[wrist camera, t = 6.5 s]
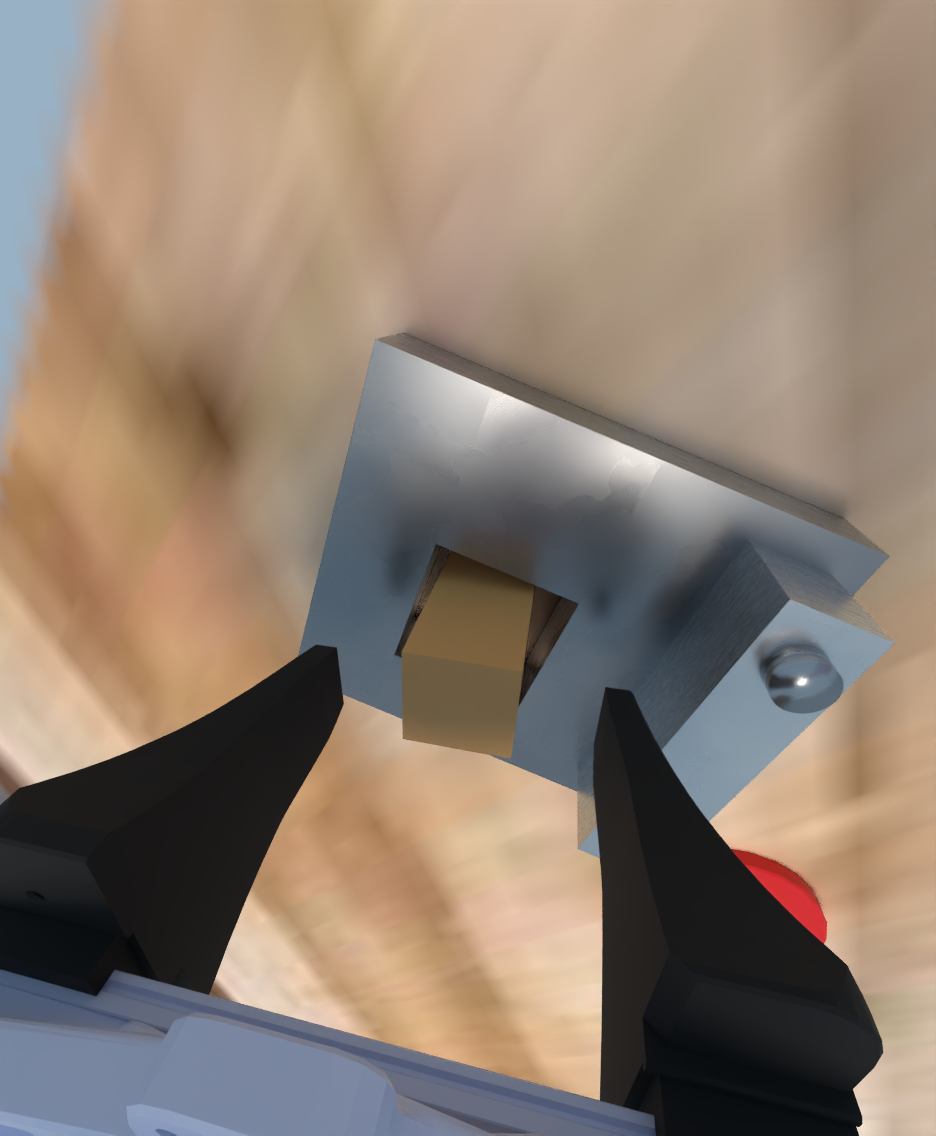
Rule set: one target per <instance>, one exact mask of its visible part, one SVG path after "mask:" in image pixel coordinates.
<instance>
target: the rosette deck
mask: <svg viewBox="0 0 936 1136" xmlns="http://www.w3.org/2000/svg"><path fill="white" fill-rule="evenodd" d="M440 546H442V547H445V548H447V549H449V550H452V551H454V552H457V553H459V554H461V555H464V556H466V557H468V558H471V559H473V560H476V561H478V562H480V563H483V564H485V565H488V566H490V567H492V568H495V569H497V570H500V571H502V572H504V573H507V574H509V575H511V576H514V577H516V578H519V579H521V580H523V581H526V582H528V583H531V584H533V585H535V586H538V587H540V588H543V589H545V590H547V591H550V592H552V593H554V594H557V595H559V596H562V598H561V599H560V601H559V603H558V605H557V607H556V608H555V610H554V612H553V614H552V616H551V617H550V619H549V621H548V623H547V624H546V626H545V628H544V630H543V632H542V633H541V635H540V637H539V639H538V641H537V642H536V644H535V646H534V648H533V649H532V651H531V653H530V655H529V657H528V658H527V660H526V662H525V663H524V670H523V677H522V684H521V691H520V698H519V706H518V713H517V720H516V727H515V734H514V741H513V748H512V756H511V759H510V758H504V757H499V756H493V755H491V756H493V757H496V758H498V759H500V760H503V761H505V762H508V763H510V764H512V765H515V766H517V767H520V768H522V769H524V770H527V771H529V772H532V773H534V774H537V775H539V776H541V777H544V778H546V779H549V780H551V781H553V782H556V783H558V784H561V785H563V786H565V787H568V788H570V789H573V790H575V791H578V849H579V850H582V851H584V852H587V853H589V854H591V855H594V856H596V857H599V858H600V853H599V843H598V833H597V822H596V812H595V801H594V790H593V751H594V741H595V736H596V731H597V726H598V721H599V716H600V711H601V706H602V701H603V696H604V691H605V687H609V688H616V689H623V690H630V691H631V692H632V693H633V694H634V696H635V699H636V701H637V703H638V706H639V708H640V710H641V712H642V714H643V716H644V718H645V720H646V722H647V724H648V726H649V728H650V730H651V732H652V734H653V736H654V738H655V739H656V741H657V743H658V745H659V746H660V748H661V750H662V752H663V753H664V755H665V757H666V759H667V760H668V762H669V764H670V765H671V767H672V769H673V770H674V772H675V773H676V775H677V777H678V778H679V780H680V781H681V783H682V784H683V786H684V787H685V789H686V790H687V792H688V793H689V795H690V796H691V798H692V799H693V801H694V802H695V803H696V805H697V806H698V808H699V809H700V810H701V812H702V813H703V815H704V816H705V817H706V818H707V820H708V821H710V820H711V819H712V818H713V817H714V816H715V815H716V814H717V813H718V812H719V811H720V810H721V809H722V808H723V807H725V806H726V805H727V804H728V803H729V802H730V801H731V800H732V799H733V798H734V797H735V796H736V795H737V794H738V793H739V792H740V791H741V790H742V789H743V788H744V787H745V786H746V785H747V784H749V783H750V782H751V781H752V780H753V779H754V778H755V777H756V776H757V775H758V774H759V773H760V772H761V771H762V770H763V769H764V768H765V767H766V766H767V765H768V764H769V763H770V762H771V761H772V760H774V759H775V758H776V757H777V756H778V755H779V754H780V753H781V752H782V751H783V750H784V749H785V748H786V747H787V746H788V745H789V744H790V743H791V742H792V741H793V740H794V739H795V738H796V737H797V736H799V735H800V734H801V733H802V732H803V731H804V730H805V729H806V728H807V727H808V726H809V725H810V724H811V723H812V722H813V721H814V720H815V719H816V718H817V717H818V716H819V715H820V714H821V713H823V712H824V711H825V710H826V709H827V708H828V707H829V706H830V705H832V704H833V703H834V702H836V701H837V699H838V698H839V697H840V696H841V694H842V693H843V692H844V691H845V690H846V689H848V688H849V687H850V686H851V685H852V684H853V683H854V682H855V681H856V680H857V679H858V678H859V677H860V676H861V675H862V674H863V673H864V672H865V671H866V670H867V669H868V668H869V667H870V666H871V665H873V664H874V663H875V662H876V661H877V660H878V659H879V658H880V657H881V656H882V655H883V654H884V653H885V652H886V651H887V650H888V649H889V648H890V647H891V646H892V645H893V644H894V642H893V641H892V640H891V638H890V637H889V636H888V635H887V634H886V633H885V632H884V631H883V630H882V629H881V628H880V626H879V625H878V624H877V623H876V622H875V621H874V620H873V619H872V618H871V617H870V616H869V614H868V613H867V612H866V611H865V610H864V609H863V608H862V607H861V606H860V605H859V604H858V602H857V601H856V600H855V599H854V598H853V597H852V596H853V595H854V594H855V593H856V592H857V591H858V590H859V589H860V587H861V586H862V585H863V584H864V583H865V582H866V581H867V580H868V579H869V578H870V577H871V576H872V575H873V573H874V572H875V571H876V570H877V569H878V568H879V567H880V566H881V565H882V564H883V563H884V562H885V561H886V559H887V558H888V557H889V555H887V554H886V553H885V552H884V551H883V550H881V549H880V548H879V547H878V546H877V545H875V544H874V543H873V542H872V541H871V540H869V539H868V538H867V537H866V536H865V535H863V534H862V533H861V532H860V531H859V530H857V529H856V528H855V527H854V526H853V525H851V524H850V523H849V522H848V521H847V520H845V519H843V518H840V517H838V516H836V515H833V514H831V513H828V512H826V511H824V510H821V509H819V508H817V507H814V506H812V505H810V504H807V503H805V502H802V501H800V500H798V499H795V498H793V497H791V496H788V495H786V494H784V493H781V492H779V491H776V490H774V489H772V488H769V487H767V486H765V485H762V484H760V483H757V482H755V481H753V480H750V479H748V478H746V477H743V476H741V475H739V474H736V473H734V472H731V471H729V470H727V469H724V468H722V467H720V466H717V465H715V464H712V463H710V462H708V461H705V460H703V459H701V458H698V457H696V456H694V455H691V454H689V453H686V452H684V451H682V450H679V449H677V448H675V447H672V446H670V445H668V444H665V443H663V442H660V441H658V440H656V439H653V438H651V437H649V436H646V435H644V434H641V433H639V432H637V431H634V430H632V429H630V428H627V427H625V426H623V425H620V424H618V423H615V422H613V421H611V420H608V419H606V418H604V417H601V416H599V415H596V414H594V413H592V412H589V411H587V410H585V409H582V408H580V407H578V406H575V405H573V404H570V403H568V402H566V401H563V400H561V399H559V398H556V397H554V396H552V395H549V394H547V393H544V392H542V391H540V390H537V389H535V388H533V387H530V386H528V385H525V384H523V383H521V382H518V381H516V380H514V379H511V378H509V377H507V376H504V375H502V374H499V373H497V372H495V371H492V370H490V369H488V368H485V367H483V366H480V365H478V364H476V363H473V362H471V361H469V360H466V359H464V358H462V357H459V356H457V355H454V354H452V353H450V352H447V351H445V350H443V349H440V348H438V347H435V346H433V345H431V344H428V343H426V342H424V341H421V340H419V339H417V338H414V337H412V336H409V335H407V334H405V333H402V334H397V335H392V336H388V337H383V338H379V339H375V343H374V347H373V351H372V355H371V359H370V363H369V367H368V371H367V376H366V380H365V384H364V388H363V392H362V396H361V400H360V404H359V408H358V413H357V417H356V421H355V425H354V429H353V433H352V437H351V441H350V445H349V450H348V454H347V458H346V462H345V466H344V470H343V474H342V478H341V482H340V487H339V491H338V495H337V499H336V503H335V507H334V511H333V515H332V519H331V524H330V528H329V532H328V536H327V540H326V544H325V548H324V552H323V556H322V561H321V565H320V569H319V573H318V577H317V581H316V585H315V589H314V593H313V598H312V602H311V606H310V610H309V614H308V618H307V622H306V626H305V630H304V635H303V639H302V643H301V647H300V651H299V655H298V656H300V655H301V654H302V653H304V652H305V651H307V650H308V649H310V648H312V647H313V646H315V645H316V644H317V645H324V646H330V647H337V652H338V660H339V668H340V677H341V685H342V693H343V694H344V695H346V696H348V697H351V698H353V699H356V700H358V701H360V702H363V703H365V704H368V705H370V706H373V707H375V708H377V709H380V710H382V711H385V712H387V713H389V714H392V715H394V716H397V717H399V718H401V719H403V716H402V650H403V648H404V646H405V644H406V642H407V640H408V638H409V636H410V634H411V632H412V630H413V628H414V625H415V623H416V621H417V619H418V618H416V617H414V615H415V612H416V609H417V607H418V604H419V602H420V599H421V596H422V594H423V591H424V588H425V586H426V583H427V581H428V578H429V575H430V573H431V570H432V567H433V565H434V562H435V560H436V557H437V554H438V552H439V549H440Z"/></svg>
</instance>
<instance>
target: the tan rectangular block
mask: <svg viewBox="0 0 936 1136" xmlns="http://www.w3.org/2000/svg"><path fill="white" fill-rule="evenodd" d="M534 589H535V585H533V584H531V583H528V582H526V581H523V580H521V579H519V578H516V577H514V576H511V575H509V574H507V573H504V572H502V571H500V570H497V569H495V568H492V567H490V566H488V565H485V564H483V563H480V562H478V561H476V560H473V559H471V558H468V557H466V556H464V555H461V554H459V553H457V552H454V551H452V550H451V552H450V554H449V556H448V558H447V560H446V562H445V564H444V566H443V568H442V570H441V572H440V574H439V576H438V578H437V580H436V583H435V585H434V587H433V589H432V591H431V593H430V595H429V597H428V599H427V601H426V603H425V605H424V607H423V609H422V611H421V613H420V615H419V617H418V619H417V621H416V623H415V625H414V628H413V630H412V632H411V634H410V636H409V638H408V640H407V642H406V644H405V646H404V648H403V650H402V716H403V739H407V740H412V741H418V742H423V743H429V744H434V745H439V746H445V747H450V748H456V749H461V750H466V751H472V752H477V753H483V754H488V755H493V756H499V757H504V758H510V759H511V756H512V748H513V741H514V734H515V727H516V720H517V713H518V706H519V698H520V691H521V684H522V677H523V670H524V663H525V656H526V648H527V641H528V634H529V627H530V619H531V612H532V604H533V597H534Z"/></svg>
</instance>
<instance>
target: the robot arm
mask: <svg viewBox="0 0 936 1136" xmlns="http://www.w3.org/2000/svg"><path fill="white" fill-rule="evenodd" d="M343 704H344V702H343V693H342V685H341V677H340V668H339V660H338V652H337V647H330V646H324V645H317V644H316V645H315V646H313V647H312V648H310V649H308V650H307V651H305V652H304V653H302V654H301V655H300V656H298V657H297V658H295V659H294V660H292V661H291V662H289V663H288V664H287V665H285V666H284V667H282V668H281V669H279V670H278V671H276V672H275V673H273V674H272V675H270V676H269V677H267V678H266V679H264V680H263V681H261V682H260V683H258V684H257V685H255V686H254V687H252V688H251V689H249V690H248V691H246V692H244V693H243V694H241V695H239V696H238V697H236V698H234V699H233V700H231V701H230V702H228V703H226V704H225V705H223V706H221V707H220V708H218V709H216V710H215V711H213V712H211V713H209V714H207V715H206V716H204V717H202V718H200V719H198V720H196V721H194V722H192V723H190V724H188V725H186V726H185V727H183V728H181V729H179V730H177V731H174V732H172V733H170V734H168V735H166V736H163V737H161V738H159V739H157V740H154V741H152V742H150V743H148V744H145V745H143V746H141V747H139V748H136V749H134V750H132V751H129V752H127V753H124V754H122V755H119V756H116V757H114V758H111V759H109V760H106V761H103V762H100V763H98V764H95V765H92V766H89V767H86V768H84V769H81V770H78V771H75V772H72V773H68V774H65V775H62V776H59V777H55V778H52V779H49V780H45V781H42V782H39V783H36V784H32V785H29V786H25V787H22V788H19V789H18V790H17V791H16V792H14V793H13V794H12V795H11V796H10V797H9V798H8V799H6V800H5V801H4V802H3V803H2V804H1V805H0V1136H859V1134H858V1131H857V1128H856V1126H857V1127H860V1126H861V1125H862V1115H861V1112H860V1109H859V1106H858V1103H857V1100H856V1098H855V1095H854V1092H853V1088H854V1087H855V1086H856V1085H857V1084H858V1083H859V1082H860V1081H861V1080H862V1079H863V1078H864V1077H865V1076H866V1075H867V1074H868V1073H869V1072H870V1071H871V1070H872V1069H873V1068H874V1067H875V1065H876V1064H877V1062H878V1060H879V1059H880V1057H881V1055H882V1054H883V1046H882V1039H881V1037H880V1035H879V1032H878V1030H877V1027H876V1025H875V1022H874V1020H873V1017H872V1015H871V1012H870V1010H869V1008H868V1006H867V1004H866V1001H865V999H864V997H863V995H862V993H861V991H860V989H859V987H858V985H857V983H856V982H855V980H854V978H853V976H852V974H851V972H850V970H849V968H848V966H847V965H846V964H845V963H844V962H843V961H842V960H841V959H840V958H839V957H838V956H836V955H835V954H834V953H833V952H832V951H831V950H830V949H829V948H828V947H827V946H825V945H824V944H823V943H822V942H821V941H820V940H819V939H818V938H817V937H816V936H814V935H813V934H812V933H811V932H810V931H809V930H808V929H807V928H806V927H805V926H803V925H802V924H801V923H800V922H799V921H798V920H797V919H796V918H795V917H794V916H793V915H792V914H791V913H790V912H789V911H788V910H787V909H786V908H785V907H784V906H783V905H782V904H781V903H780V902H779V901H778V900H777V899H776V898H775V897H774V896H773V895H772V894H771V893H770V892H769V891H768V890H767V889H766V888H765V887H764V886H763V885H762V884H761V882H760V881H759V880H758V879H757V878H756V877H755V876H754V875H753V874H752V872H751V871H750V870H749V869H748V868H747V867H746V866H745V865H744V864H743V862H742V861H741V860H740V859H739V858H738V857H737V856H736V855H735V854H734V852H733V851H732V850H731V849H730V848H729V846H728V845H727V844H726V843H725V841H724V840H723V839H722V838H721V836H720V835H719V834H718V833H717V832H716V830H715V829H714V828H713V826H712V825H711V824H710V822H709V821H708V820H707V818H706V817H705V816H704V815H703V813H702V812H701V810H700V809H699V808H698V806H697V805H696V803H695V802H694V801H693V799H692V798H691V796H690V795H689V793H688V792H687V790H686V789H685V787H684V786H683V784H682V783H681V781H680V780H679V778H678V777H677V775H676V773H675V772H674V770H673V769H672V767H671V765H670V764H669V762H668V760H667V759H666V757H665V755H664V753H663V752H662V750H661V748H660V746H659V745H658V743H657V741H656V739H655V738H654V736H653V734H652V732H651V730H650V728H649V726H648V724H647V722H646V720H645V718H644V716H643V714H642V712H641V710H640V708H639V706H638V703H637V701H636V699H635V696H634V694H633V693H632V692H631V691H630V690H623V689H616V688H609V687H605V691H604V696H603V701H602V706H601V711H600V716H599V721H598V726H597V731H596V736H595V741H594V751H593V790H594V801H595V812H596V822H597V833H598V843H599V853H600V864H601V876H602V919H603V949H602V1039H601V1080H600V1101H599V1100H595V1099H591V1098H588V1097H584V1096H580V1095H577V1094H573V1093H569V1092H566V1091H562V1090H558V1089H554V1088H551V1087H547V1086H543V1085H540V1084H536V1083H532V1082H529V1081H525V1080H521V1079H517V1078H514V1077H510V1076H506V1075H503V1074H499V1073H495V1072H492V1071H488V1070H484V1069H480V1068H477V1067H473V1066H469V1065H466V1064H462V1063H458V1062H455V1061H451V1060H447V1059H444V1058H440V1057H436V1056H432V1055H429V1054H425V1053H421V1052H418V1051H414V1050H410V1049H407V1048H403V1047H399V1046H395V1045H392V1044H388V1043H384V1042H381V1041H377V1040H373V1039H370V1038H366V1037H362V1036H358V1035H355V1034H351V1033H347V1032H344V1031H340V1030H336V1029H333V1028H329V1027H325V1026H321V1025H318V1024H314V1023H310V1022H307V1021H303V1020H299V1019H296V1018H292V1017H288V1016H284V1015H281V1014H277V1013H273V1012H270V1011H266V1010H262V1009H259V1008H255V1007H251V1006H248V1005H244V1004H240V1003H236V1002H233V1001H229V1000H225V999H222V998H218V997H214V996H211V995H209V993H210V991H211V988H212V985H213V983H214V980H215V977H216V975H217V972H218V969H219V967H220V964H221V961H222V959H223V956H224V953H225V951H226V948H227V945H228V943H229V940H230V938H231V935H232V933H233V930H234V928H235V926H236V923H237V921H238V918H239V916H240V913H241V911H242V908H243V906H244V903H245V901H246V898H247V896H248V894H249V891H250V889H251V887H252V885H253V882H254V880H255V878H256V875H257V873H258V871H259V868H260V866H261V864H262V862H263V859H264V857H265V855H266V853H267V851H268V848H269V846H270V844H271V842H272V840H273V838H274V835H275V833H276V831H277V829H278V827H279V825H280V823H281V821H282V819H283V817H284V815H285V813H286V812H287V810H288V808H289V806H290V805H291V803H292V801H293V799H294V798H295V796H296V794H297V793H298V791H299V789H300V788H301V786H302V784H303V782H304V781H305V779H306V777H307V776H308V774H309V772H310V770H311V769H312V767H313V765H314V764H315V762H316V760H317V758H318V757H319V755H320V753H321V752H322V750H323V748H324V746H325V745H326V743H327V741H328V739H329V737H330V735H331V733H332V731H333V728H334V726H335V724H336V722H337V719H338V717H339V714H340V712H341V709H342V707H343Z"/></svg>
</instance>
